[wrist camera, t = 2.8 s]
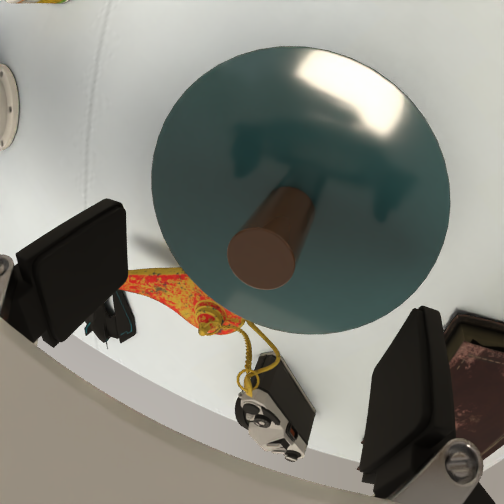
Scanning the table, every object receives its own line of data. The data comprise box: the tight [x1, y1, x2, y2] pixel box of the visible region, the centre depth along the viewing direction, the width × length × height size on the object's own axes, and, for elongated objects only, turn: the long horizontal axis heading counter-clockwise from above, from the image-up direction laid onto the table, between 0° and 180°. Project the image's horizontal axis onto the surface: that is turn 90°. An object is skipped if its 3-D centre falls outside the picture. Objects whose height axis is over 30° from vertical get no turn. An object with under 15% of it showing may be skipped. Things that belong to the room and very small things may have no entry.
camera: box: [235, 352, 316, 462], centre depth 34 cm, size 13×8×9 cm, turn 32°
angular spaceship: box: [85, 289, 136, 349], centre depth 39 cm, size 11×15×3 cm
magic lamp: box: [119, 267, 280, 397], centre depth 27 cm, size 7×18×11 cm, turn 76°
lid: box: [151, 46, 450, 334], centre depth 13 cm, size 15×15×6 cm
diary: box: [357, 314, 504, 470], centre depth 27 cm, size 19×25×5 cm
